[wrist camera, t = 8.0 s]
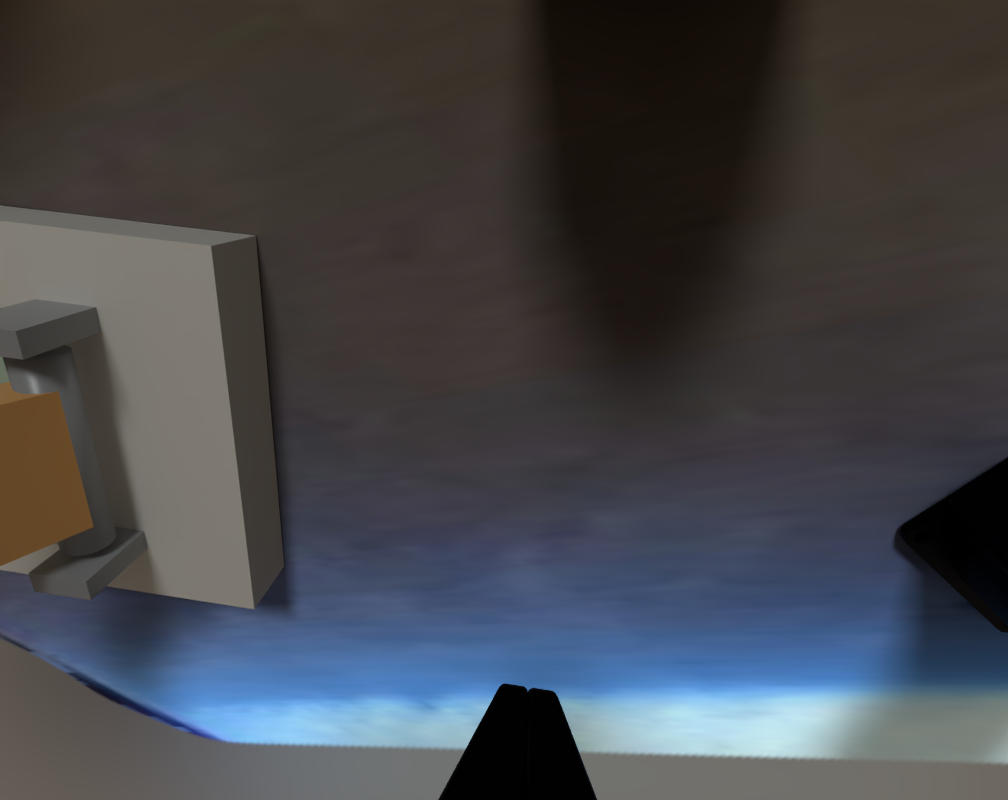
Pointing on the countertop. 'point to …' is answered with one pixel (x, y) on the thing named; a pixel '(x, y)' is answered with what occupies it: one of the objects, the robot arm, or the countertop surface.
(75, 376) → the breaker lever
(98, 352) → the base
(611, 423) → the countertop surface
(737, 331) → the countertop surface
